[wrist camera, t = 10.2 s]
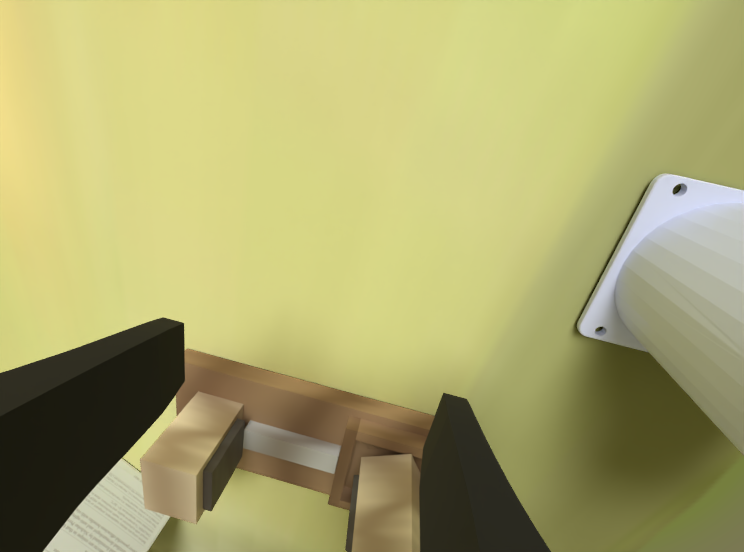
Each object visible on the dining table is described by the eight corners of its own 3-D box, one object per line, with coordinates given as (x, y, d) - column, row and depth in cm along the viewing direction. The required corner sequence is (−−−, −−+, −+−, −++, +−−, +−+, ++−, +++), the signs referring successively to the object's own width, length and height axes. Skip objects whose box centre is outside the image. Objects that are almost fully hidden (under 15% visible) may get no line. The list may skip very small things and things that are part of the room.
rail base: (465, 424, 22) (476, 528, 17) (430, 506, 26) (429, 616, 20) (186, 348, 23) (108, 422, 18) (188, 437, 27) (122, 522, 21)
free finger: (411, 454, 21) (412, 562, 17) (425, 484, 23) (429, 586, 19) (353, 457, 22) (340, 562, 18) (372, 486, 24) (365, 584, 20)
